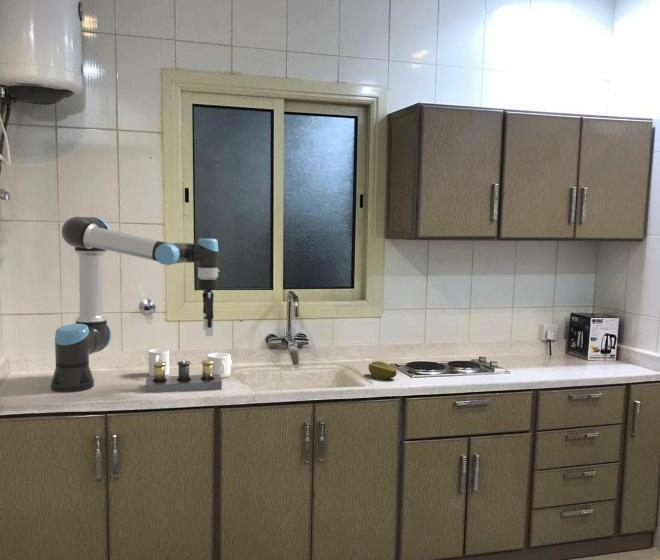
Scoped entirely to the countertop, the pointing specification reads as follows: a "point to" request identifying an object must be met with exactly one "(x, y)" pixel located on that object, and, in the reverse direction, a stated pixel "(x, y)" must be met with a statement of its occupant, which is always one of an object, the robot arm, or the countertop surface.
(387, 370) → the fruit
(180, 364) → the knob mid
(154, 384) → the mount plate
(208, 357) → the mug
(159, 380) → the knob near
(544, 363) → the countertop surface
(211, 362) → the knob far
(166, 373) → the mug
